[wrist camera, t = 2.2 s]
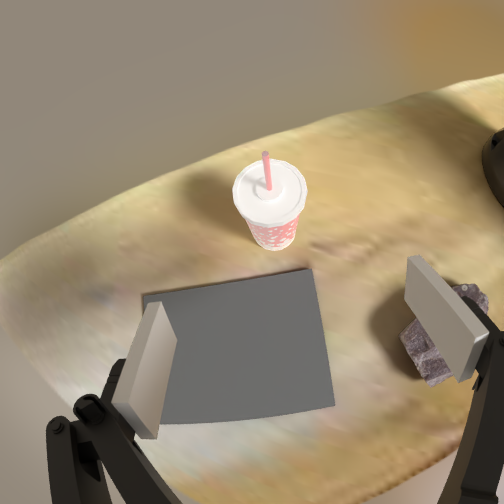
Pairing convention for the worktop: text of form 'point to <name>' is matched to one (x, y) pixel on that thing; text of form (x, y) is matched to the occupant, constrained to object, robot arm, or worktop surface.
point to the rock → (423, 346)
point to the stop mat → (246, 350)
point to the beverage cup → (270, 200)
